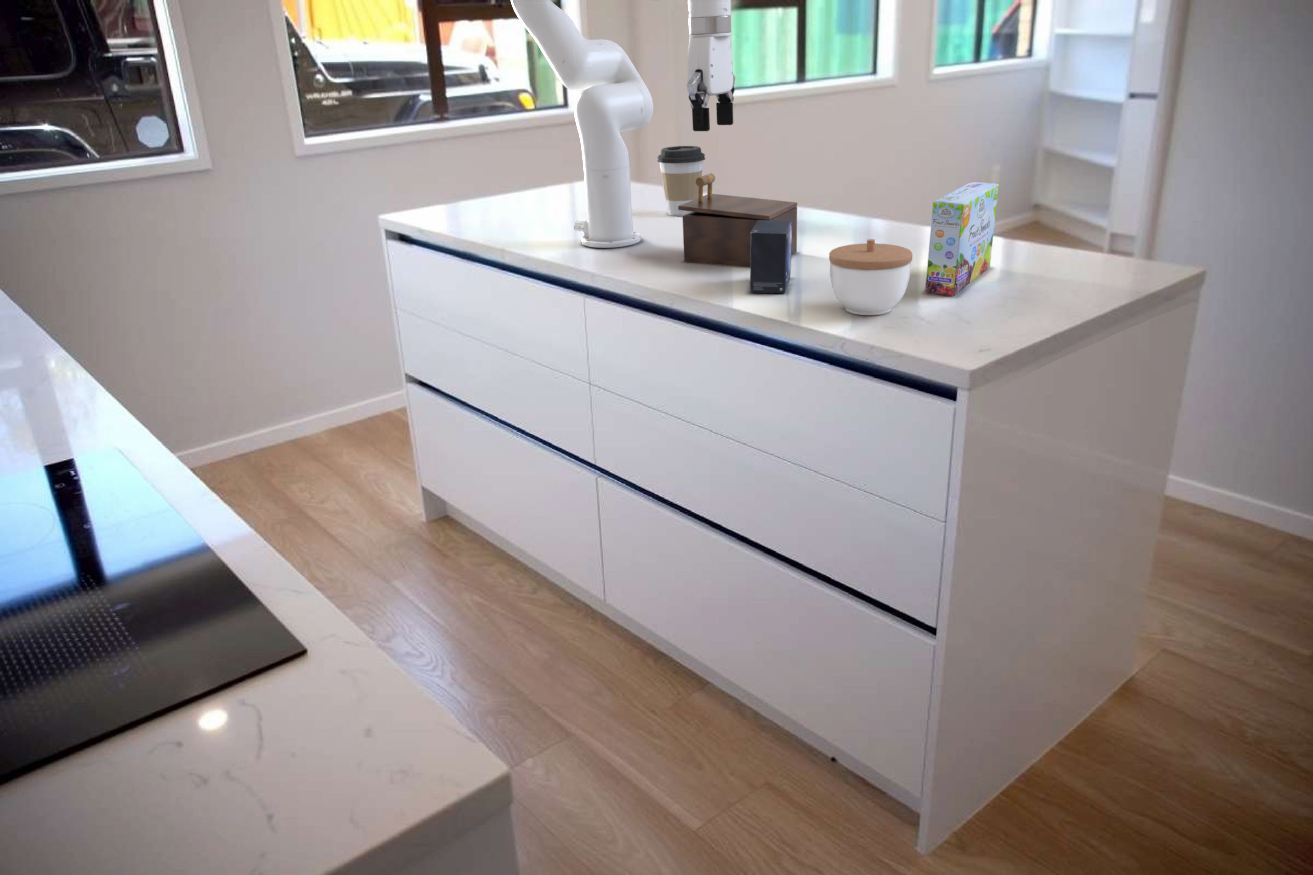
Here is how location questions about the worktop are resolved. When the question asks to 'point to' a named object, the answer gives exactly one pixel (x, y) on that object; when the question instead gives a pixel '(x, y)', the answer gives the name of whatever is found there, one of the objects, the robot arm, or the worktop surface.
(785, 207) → the lid
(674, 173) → the coffee cup
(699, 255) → the chest
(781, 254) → the small box
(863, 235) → the worktop surface
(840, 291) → the lidded bowl
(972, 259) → the snack box
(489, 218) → the worktop surface
